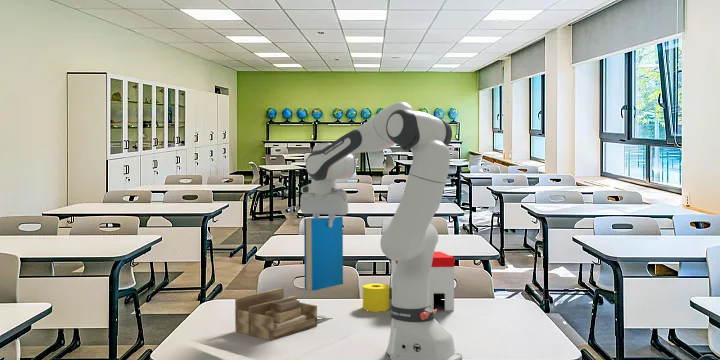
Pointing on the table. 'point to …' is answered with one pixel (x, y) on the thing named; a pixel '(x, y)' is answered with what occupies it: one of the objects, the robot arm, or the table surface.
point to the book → (323, 253)
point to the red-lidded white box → (439, 279)
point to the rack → (259, 325)
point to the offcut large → (290, 321)
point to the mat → (322, 320)
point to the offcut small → (284, 305)
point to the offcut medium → (284, 315)
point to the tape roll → (376, 297)
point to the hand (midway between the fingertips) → (324, 226)
